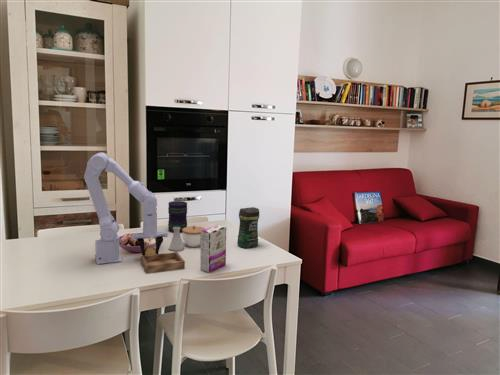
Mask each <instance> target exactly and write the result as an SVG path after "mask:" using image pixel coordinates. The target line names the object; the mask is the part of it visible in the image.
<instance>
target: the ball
mask: <svg viewBox="0 0 500 375" xmlns="http://www.w3.org/2000/svg"><path fill="white" fill-rule="evenodd" d="M155 249H156V247H154V246H147V247H146V248H144V252H145V255H153V254H156V250H155Z"/></svg>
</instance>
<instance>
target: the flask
mask: <svg viewBox="0 0 500 375" xmlns="http://www.w3.org/2000/svg"><path fill="white" fill-rule="evenodd" d="M173 230H174V233H173V236H172V238H171V242H170V244H169V246H168V251H173V252H181V251H183V250H185V245H184V242H183V238H182V236H181V233H180V227H174V228H173Z"/></svg>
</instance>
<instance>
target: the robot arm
mask: <svg viewBox="0 0 500 375" xmlns="http://www.w3.org/2000/svg"><path fill="white" fill-rule="evenodd" d="M104 169H105V170H104ZM103 170H104V172H107V173H112V174H113V175H115V177H117V178H118V179H119V180H120V181H121V182H122V183H124V184H125V185H126V186H127V191H128V192H129V194H131V195H132V196H133V197H134V198H135V199H136V201H138V202H139V203H141V206H142V209H143V212H142V232H140V233H133V234H131V240H132V241H137V243H138V244H139V248H140V251H141V256H143V255H145V252H144V250H145V243H146V242H145V240H147V239H154V240H155V250H156V254H159V252H160V248H161V247H162V244H163V242H164V238H168V237H169V234H168V231H158V212H157V210H158V209H157V206H158V199H157V197H156V195H155V194H154V193H153V192H152V191H150V190H148V188H147V187H145V186H144V185H145V184H144V182H143V181H141V182H140V181H139V180H134V179H133V178H132V177H131V176H130V175H129V174H128V173H127V172H126V171H125V169H123V167H121V165H119V164H118V162H116V161H115V159H113V158H112V157H110V156H109V154H107V153H106V152H103V151H102V152H97V153H96V154H94V155H92V156H91V157H90V158H89V160H88V161H87V164H86V168H85V171H84V175H83V178H84V181H85V184H86V187H87V190H88V192H89V194H90V198H91V201H92V204H93V207H94V209H95V212H96V214H97V218H98V221H99V222H98V223H99V224H98V225H99V229H100V230H99V235H100V238H99V239H96V240H94V241H95V242H94V243H95V244H94V246H95V254H94V257H95V260H96V265H100V264H112V263H118V262H121V263H122V258H121V257H122V256H121V255H120V254H121V253H120V236H119V235H118V232H119V230H120V225H119V223H118V222H117V221H116V219H115V218H114V215H113V214H111V210H110V208H109V205H108V202H107V198H106V197H105V194H104V191H103V187H102V185H101V182H100V179H99V177H100V175H101V174H102V172H103Z"/></svg>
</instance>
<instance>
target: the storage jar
mask: <svg viewBox="0 0 500 375" xmlns="http://www.w3.org/2000/svg"><path fill="white" fill-rule="evenodd" d="M167 210H168V212H167V213H168V227H167V228H168V231H167V232H169V233H173V234H174V230H173V228H174V227H180V234H183V232H182V229H183V228H185V227H188V220H187V219H188V218H187V216H188V215H187V214H188V202H186V201H183V200H182V201H181V200H174V201H173V200H172V201H169V202H168V208H167Z"/></svg>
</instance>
